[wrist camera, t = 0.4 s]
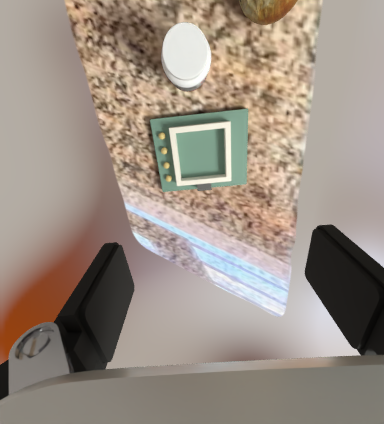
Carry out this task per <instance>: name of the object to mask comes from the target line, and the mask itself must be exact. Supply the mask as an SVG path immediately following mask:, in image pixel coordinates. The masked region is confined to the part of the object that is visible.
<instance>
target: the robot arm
mask: <svg viewBox="0 0 384 424" xmlns="http://www.w3.org/2000/svg"><path fill="white" fill-rule="evenodd" d="M305 276H306V279H307V280H308V282H309V283H310V285H311V286H312V288H313V289H314V291H315V292H316V294H317V295H318V297H319V298H320V300H321V301H322V303H323V304H324V306H325V307H326V309H327V310H328V312H329V314H330V315H331V317H332V318H333V320H334V321H335V323H336V324H337V326H338V327H339V329H340V330H341V332H342V333H343V335H344V336H345V338H346V339H347V340H348V342H349V344H350V345H351V346H352V347H353V348H354V349H357V350H358V352H359V353H360V355H361V356H338V357H318V358H297V359H278V360H277V359H275V360H257V361H238V362H219V363H200V364H183V365H165V366H147V367H131V368H120V369H119V368H118V369H105V368H106V366H107V363H108V362H110V361H111V360H112V358H113V354H114V352H115V349H116V345H117V342H118V339H119V336H120V333H121V330H122V327H123V324H124V320H125V317H126V314H127V311H128V308H129V305H130V302H131V298H132V295H133V292H134V283H133V279H132V276H131V273H130V270H129V266H128V263H127V260H126V257H125V254H124V251H123V248H122V246H121V245H119V244H118V243H116V242H115V243H105V244H104V245H103V246H102V248H101V249H100V251H99V253H98V254H97V256H96V257H95V259H94V260H93V262H92V263H91V265H90V267H89V268H88V270H87V272H86V273H85V274H84V276H83V278H82V279H81V281H80V282H79V283H78V285H77V287H76V288H75V290H74V291H73V293H72V294H71V296H70V297H69V299H68V301H67V302H66V304H65V305H64V307H63V308H62V310H61V311H60V313H59V314H58V317H57V318H56V320H55V321H54V323H53V322H46V323H42V324H39V325H37V326H35V327H33V328H31V329H30V330H28V331H27V332H25V333H24V334H23V335H22V336H21V337H20V338H19V339H18V340H17V341H16V343H15V344H14V345H13V347H12V349H11V351H10V354H9V359H8V360H7V361H6V362H4V363H2V364H1V365H0V424H384V268H383V267H382V266H381V265H380V264H379V263H377V262H376V261H375V260H374V259H373V258H371V257H370V256H369V255H368V254H367V253H366V252H364V251H363V250H362V249H361V248H360V247H358V246H357V245H356V244H355V243H354V242H352V241H351V240H350V239H349V238H348V237H346V236H345V235H344V234H343V233H342V232H341V231H340V230H338V229H337V228H336V227H335V226H333V225H319V226H317V228H316V229H314V230H313V232H312V237H311V243H310V248H309V253H308V258H307V263H306V268H305Z"/></svg>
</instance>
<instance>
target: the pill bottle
mask: <svg viewBox="0 0 384 424" xmlns="http://www.w3.org/2000/svg"><path fill="white" fill-rule="evenodd" d="M161 59H162V66H163V69H164V71H165V74H166V75H167V77H168V78H169V80H170V81H171V82H172V83H173V84H174V85H175V86H176V87H177V88H178V89H180V90H183V91H193V90H196V89H198V88H199V87H200V86H201V85H202V84H203V83H204V81H205V79H206V77H207V74H208V72H209V69H210V65H211V51H210V47H209V44H208V41H207V40H206V38H205V36H204V34H203V32H202V31H201V30H200V29H199V28H198V27H197V26H196V25H194V24H192V23H188V22H182V23H178V24H176V25H174V26H173V27H172V28H171V29H170V30H169V31H168V32H167V34H166V36H165V38H164V41H163V46H162V54H161Z"/></svg>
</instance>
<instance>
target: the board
mask: <svg viewBox="0 0 384 424" xmlns="http://www.w3.org/2000/svg"><path fill="white" fill-rule="evenodd" d="M150 123H151V128H152V134H153V140H154V145H155V151H156V156H157V162H158V168H159V173H160V179H161V185H162V190H163V192H167V191H178V190H189V189H197V190H198V191H202V190H212V189H211V187H221V186H232V185H242V184H246V181H247V138H248V109H239V110H230V111H221V112H212V113H202V114H193V115H184V116H175V117H166V118H157V119H150Z"/></svg>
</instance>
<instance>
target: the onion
mask: <svg viewBox="0 0 384 424" xmlns="http://www.w3.org/2000/svg"><path fill="white" fill-rule="evenodd" d="M296 2H297V0H239V3H240V6H241V9H242V11H243V13H244V14H245V15H246V16H247V17H248V18H249V19H250V20H251V21H252V22H254V23H257V24H261V25H268V24H271V23H274V22H276V21H278V20H280V19H281V18H283V17H284V16H285V15H286V14H287V13H288V12H289V11H290V10H291V9H292V7H293V6H294V5H295V4H296Z"/></svg>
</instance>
